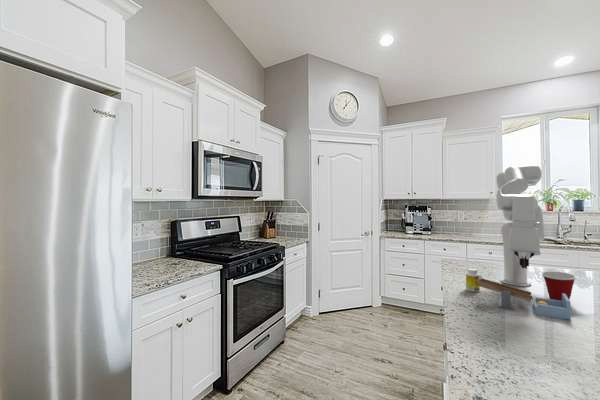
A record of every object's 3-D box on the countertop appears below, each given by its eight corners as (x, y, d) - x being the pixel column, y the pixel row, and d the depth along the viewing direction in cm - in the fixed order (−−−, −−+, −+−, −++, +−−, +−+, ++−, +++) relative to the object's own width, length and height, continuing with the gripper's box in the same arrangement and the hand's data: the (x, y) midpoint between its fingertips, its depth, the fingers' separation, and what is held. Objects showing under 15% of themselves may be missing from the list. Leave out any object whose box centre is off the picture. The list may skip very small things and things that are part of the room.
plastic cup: (536, 299, 120) (535, 272, 120) (551, 296, 124) (550, 269, 124) (567, 308, 110) (566, 278, 110) (582, 304, 114) (582, 275, 114)
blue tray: (532, 306, 113) (531, 289, 113) (565, 311, 107) (565, 293, 107) (534, 314, 105) (534, 296, 105) (570, 320, 99) (570, 301, 99)
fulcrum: (499, 300, 120) (498, 284, 120) (513, 302, 117) (513, 286, 117) (498, 308, 112) (498, 290, 112) (514, 310, 109) (513, 292, 109)
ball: (541, 310, 109) (533, 303, 110) (550, 306, 107) (542, 298, 109) (542, 313, 106) (534, 305, 108) (551, 309, 105) (543, 301, 106)
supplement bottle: (476, 293, 130) (475, 271, 130) (464, 289, 135) (463, 269, 135) (481, 290, 133) (481, 269, 133) (469, 287, 138) (469, 267, 138)
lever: (479, 279, 128) (480, 272, 127) (528, 293, 117) (530, 286, 117) (477, 285, 118) (478, 279, 117) (531, 302, 107) (532, 294, 107)
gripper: (546, 224, 115) (546, 267, 115) (501, 222, 124) (502, 263, 124) (548, 226, 109) (549, 272, 109) (501, 224, 118) (502, 267, 118)
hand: (524, 267), depth 116 cm, fingers closed
